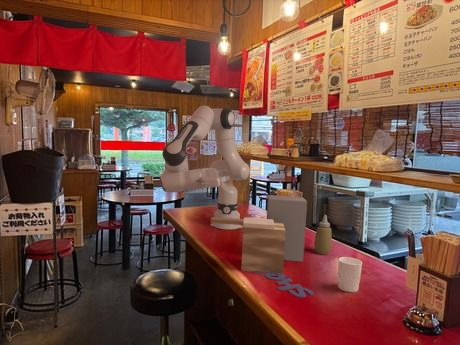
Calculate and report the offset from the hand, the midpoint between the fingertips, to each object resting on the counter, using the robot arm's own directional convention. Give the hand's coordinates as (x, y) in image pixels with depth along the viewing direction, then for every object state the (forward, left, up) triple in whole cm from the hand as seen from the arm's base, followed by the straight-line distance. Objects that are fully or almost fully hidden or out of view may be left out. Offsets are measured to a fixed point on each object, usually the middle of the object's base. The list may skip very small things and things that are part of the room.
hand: (228, 175), depth 150 cm
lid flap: (+16, +8, -18) cm, 25 cm away
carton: (0, +26, -35) cm, 44 cm away
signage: (+29, +23, -35) cm, 51 cm away
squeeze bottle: (-8, +45, -35) cm, 58 cm away
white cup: (+31, +46, -35) cm, 66 cm away
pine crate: (+16, +16, -35) cm, 42 cm away
